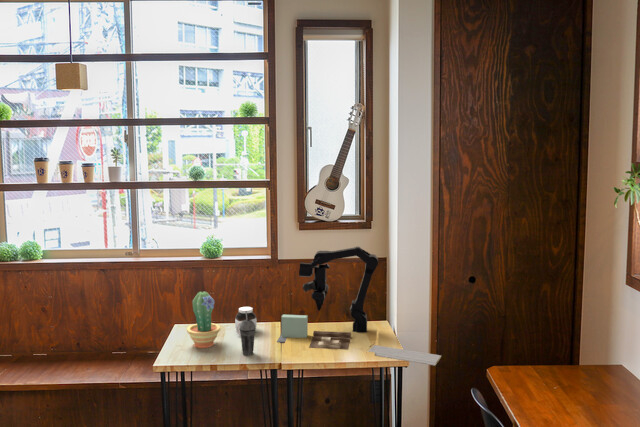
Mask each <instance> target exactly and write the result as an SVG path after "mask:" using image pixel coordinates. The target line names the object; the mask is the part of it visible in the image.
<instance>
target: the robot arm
mask: <svg viewBox="0 0 640 427" xmlns="http://www.w3.org/2000/svg"><path fill="white" fill-rule="evenodd" d="M351 257H358V258H359V259H360V260H361V261H362V262H363V263H365V269H364V273H363V276H362V280H361V282H360V286H359V289H358V292H357V296H356V298H355V299H352V301H351V305H350V307H349V311H350V316H351V318H353V319H354V320H353V323H352V332H356V333H360V334H364V333H368V319H367V317H368V316H367V313H366V312H365V311H364V304H365V299H366V296H367V293H368V289H369V285H370V283H371V279H372V276H373V274H374V272H375V271H376V269H377V267H378V265H379V258H378V257H377V255H376V254H373V253H370V252H368V251H367V250H365V249H363V248H361V246H354V247H350V248H344V249H338V250H332V251H331V250H330V251H329V250H318V251H317V252H316V253H315V254H314V256H313V260H311V262H310V263H309V262H300V263H299V268H298V277H304V278H307V277H309V278H311V277H312V275H314V279H313V280H312V281H309V282H306V283H303V285H302V290H303V291H304V293H306V292H308V291H312V290H313V291H312V293H311V300H314V302H315V305H316V308H317V309H316V310H317V311H319V312H320V311H321V309H322V306H323V304H324V303H325V302H324V301H325V300H326V297H327V294H328V291H329V284H327V270H328V269H330V268H331V266H330V265H329V264H328V262H331V261H334V260H339V259H340V260H341V259H346V258H351Z"/></svg>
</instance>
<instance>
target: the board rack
mask: <svg viewBox="0 0 640 427" xmlns="http://www.w3.org/2000/svg"><path fill="white" fill-rule="evenodd" d="M322 337H331V340H339V342H340V343H341V345H340V348H328V347H318V343H319V342H321V339H322ZM351 338H352V332H350V331H348V332H347V331H324V330H323V331H322V330H313V334H312V335H311V341H310V343H309V345H308V349H328V350H346V351H348V350H349V349H350V344H351Z"/></svg>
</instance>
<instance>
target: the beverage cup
mask: <svg viewBox="0 0 640 427" xmlns="http://www.w3.org/2000/svg"><path fill="white" fill-rule="evenodd" d="M239 330H240V334H241V336H240V340H241V352H242V355H243V356H247V357H248V356H252V355H253V354H254V347H255V346H254V345H255V335H256V330H257V326H256V327H255V324H254V322H253V321H252V320H249V319H247V311H246V320H244V321H243V322H242V323H241V324H240V329H239Z"/></svg>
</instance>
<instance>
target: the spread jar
mask: <svg viewBox="0 0 640 427" xmlns="http://www.w3.org/2000/svg"><path fill="white" fill-rule="evenodd" d="M253 309H254V308H253V307H251V306H242V307H239V308H238V312H237V314H236V315H235V319H234V320H235V321H234V322H235V323H234V324H235V329H236V330H235V331H236V333H237V335H239V336H240V337H241V334H240V330H239V329H240V324H241V323H242V322H243V321H244V320H246V311H247V319H249V320H252V321H253V322H254V324H255V327H256V328H257V324H258V323H257V315H256V314H255V313H254V312H253V311H254V310H253Z"/></svg>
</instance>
